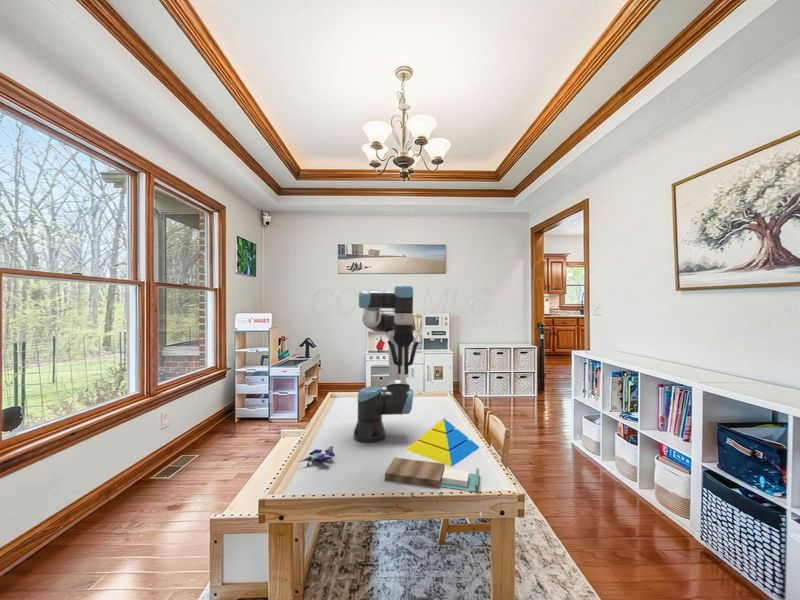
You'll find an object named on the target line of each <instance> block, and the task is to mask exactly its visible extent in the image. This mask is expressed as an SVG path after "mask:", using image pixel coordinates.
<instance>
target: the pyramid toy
mask: <svg viewBox="0 0 800 600" xmlns="http://www.w3.org/2000/svg"><path fill="white" fill-rule="evenodd" d="M479 447H480V446H479V445H478V444H477V443H475V442H474V441H473V440H472V439H470V438H469V436H467V435H466V434H465V433H464V432H462V431H460V430H459V429H457V428H456V427H455V426H454V425H453V424H451V422H449V421H448V420H447V419H446V418H444V417H442V419H441V420H440V421H438V422H437V423H435V424H434V426H432V427H431V428H430V429H428V430H427V431H426V432H425V433H424V434H422V435H421V436H420V437H419V438H418V439H417V440H415V441H414V442H412V444H411V445H409V446H408V447H407V448H406V449H405V450H407V451H409V452H410V453H413V454H417V455H419V456H422V457H425V458H427V459H430V460H432V461H435V462H436V463H443V464H444V466H449V467H451V468H452V467H454V466H455V465H457V464H458V463H460V462H461V461H463V460H464V459H466V458H468V457H469V456H471V455H472V454H473V453H472V452H474V451H475V452H477V451H478V450H479V449H478V448H479ZM477 449H478V450H477ZM476 450H477V451H476ZM475 452H474V453H475ZM471 453H472V454H471ZM470 454H471V455H470ZM468 455H469V456H468ZM467 456H468V457H467Z"/></svg>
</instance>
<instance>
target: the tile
mask: <svg viewBox="0 0 800 600" xmlns="http://www.w3.org/2000/svg"><path fill="white" fill-rule="evenodd" d="M469 473H470V472H469V471H466V470H458V469H453V468H452V469H451V468H444V472H443V475H442V483H444V484H450V485H457V486H464V487H468V481H469Z"/></svg>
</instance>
